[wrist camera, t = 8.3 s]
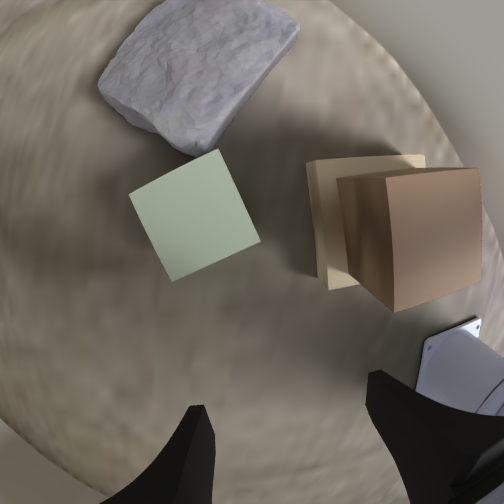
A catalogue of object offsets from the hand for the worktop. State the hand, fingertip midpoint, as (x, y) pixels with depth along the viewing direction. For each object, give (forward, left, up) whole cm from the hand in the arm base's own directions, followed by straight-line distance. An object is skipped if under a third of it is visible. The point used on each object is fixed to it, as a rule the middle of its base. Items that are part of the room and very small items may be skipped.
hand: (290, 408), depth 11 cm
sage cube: (+8, +3, -10) cm, 13 cm away
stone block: (+18, +2, -10) cm, 21 cm away
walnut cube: (+6, -8, -7) cm, 13 cm away
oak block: (+6, -8, -10) cm, 14 cm away
